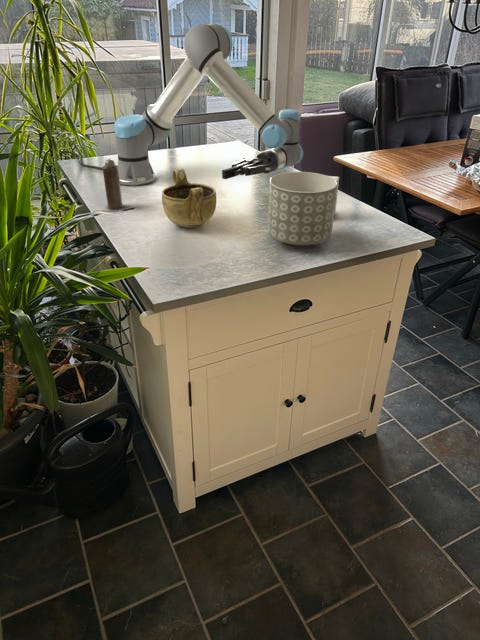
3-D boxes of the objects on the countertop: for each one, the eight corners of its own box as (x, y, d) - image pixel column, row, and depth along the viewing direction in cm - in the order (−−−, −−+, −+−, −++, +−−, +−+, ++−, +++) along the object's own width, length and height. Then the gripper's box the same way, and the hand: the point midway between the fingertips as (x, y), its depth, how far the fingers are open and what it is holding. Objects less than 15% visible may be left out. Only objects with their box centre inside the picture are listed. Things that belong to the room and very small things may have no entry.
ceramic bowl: (156, 215, 168) (152, 170, 160) (204, 209, 174) (203, 165, 166) (173, 240, 151) (170, 191, 143) (227, 233, 156) (226, 185, 148)
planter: (272, 226, 161) (275, 169, 151) (332, 231, 158) (338, 174, 148) (262, 251, 145) (264, 189, 136) (328, 257, 142) (335, 194, 133)
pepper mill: (105, 207, 175) (98, 159, 166) (117, 203, 177) (112, 156, 169) (112, 210, 171) (106, 162, 163) (125, 207, 174) (119, 159, 165)
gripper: (283, 175, 178) (238, 190, 163) (256, 167, 185) (210, 181, 171) (285, 153, 174) (238, 167, 159) (256, 146, 181) (209, 159, 167)
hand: (223, 174), depth 165 cm, fingers closed
